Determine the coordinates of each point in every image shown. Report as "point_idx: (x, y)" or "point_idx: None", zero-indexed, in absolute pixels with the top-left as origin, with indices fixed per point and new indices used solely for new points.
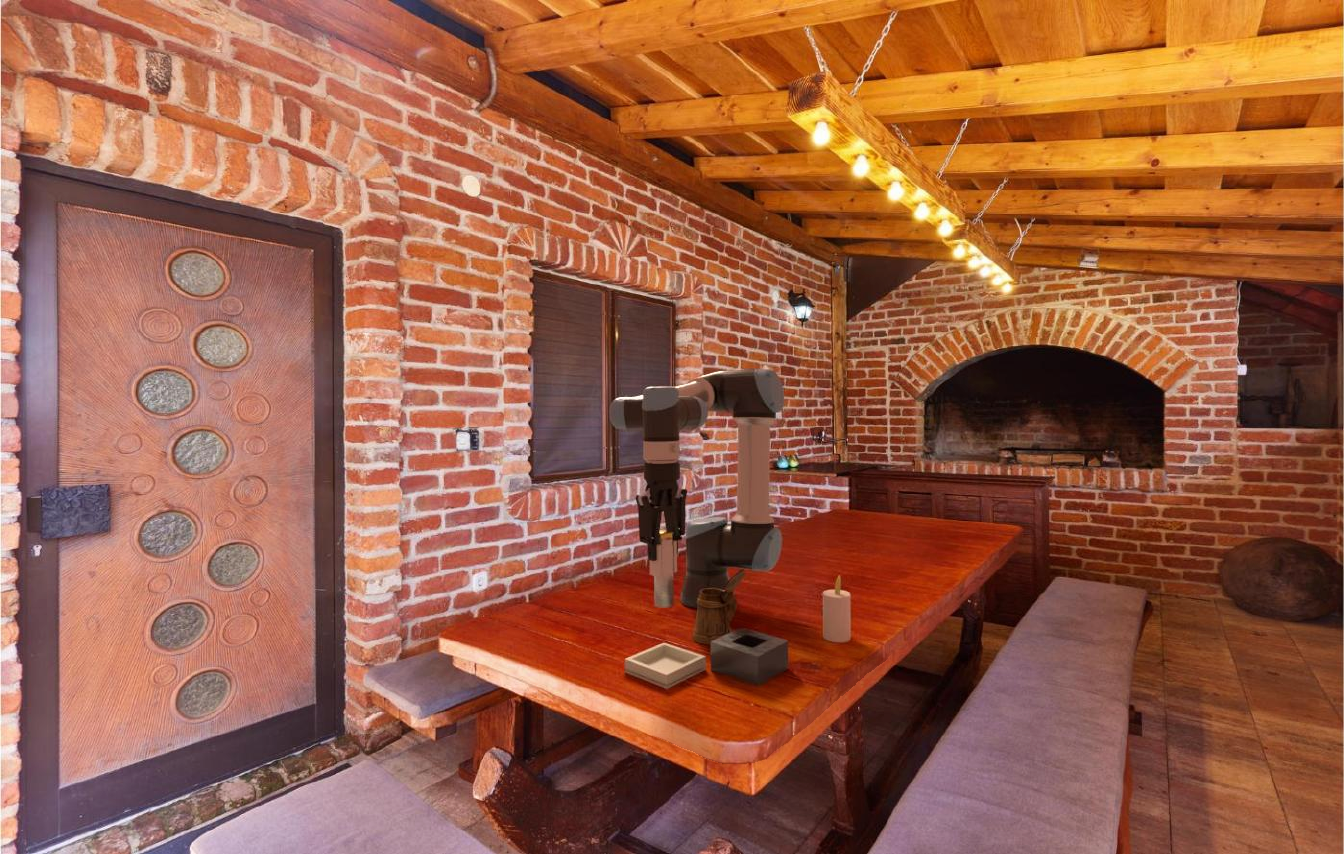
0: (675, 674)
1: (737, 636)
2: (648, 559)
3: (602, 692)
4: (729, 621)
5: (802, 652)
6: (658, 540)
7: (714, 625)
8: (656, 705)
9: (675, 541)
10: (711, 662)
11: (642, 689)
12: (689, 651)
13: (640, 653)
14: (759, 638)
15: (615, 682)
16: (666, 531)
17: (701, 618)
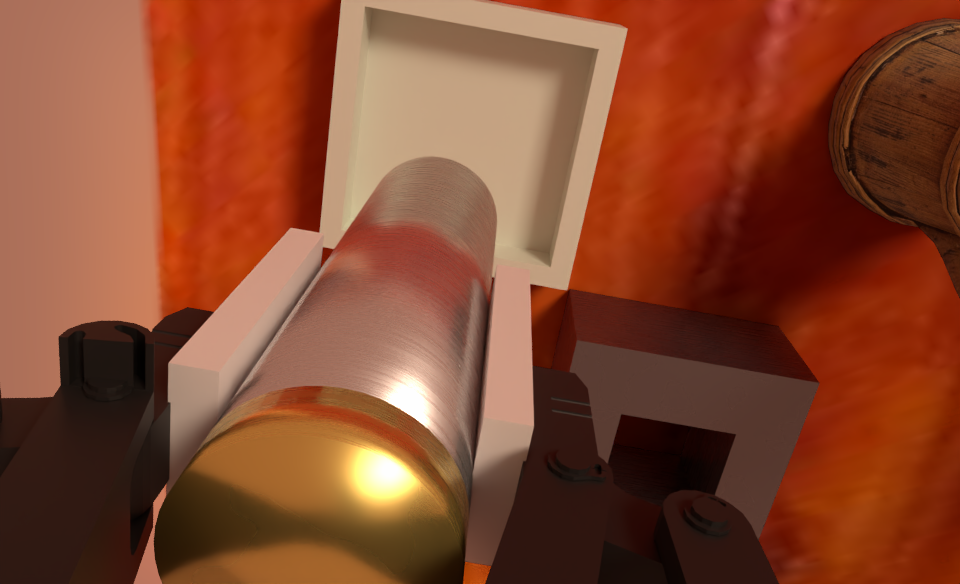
0: None
1: (695, 411)
2: (181, 311)
3: (152, 18)
4: (945, 258)
5: (886, 506)
6: (144, 547)
7: (892, 193)
8: (207, 263)
9: (478, 562)
10: (570, 304)
11: (273, 148)
12: (581, 204)
13: (442, 5)
14: (715, 492)
15: (253, 6)
16: (391, 581)
17: (911, 123)
